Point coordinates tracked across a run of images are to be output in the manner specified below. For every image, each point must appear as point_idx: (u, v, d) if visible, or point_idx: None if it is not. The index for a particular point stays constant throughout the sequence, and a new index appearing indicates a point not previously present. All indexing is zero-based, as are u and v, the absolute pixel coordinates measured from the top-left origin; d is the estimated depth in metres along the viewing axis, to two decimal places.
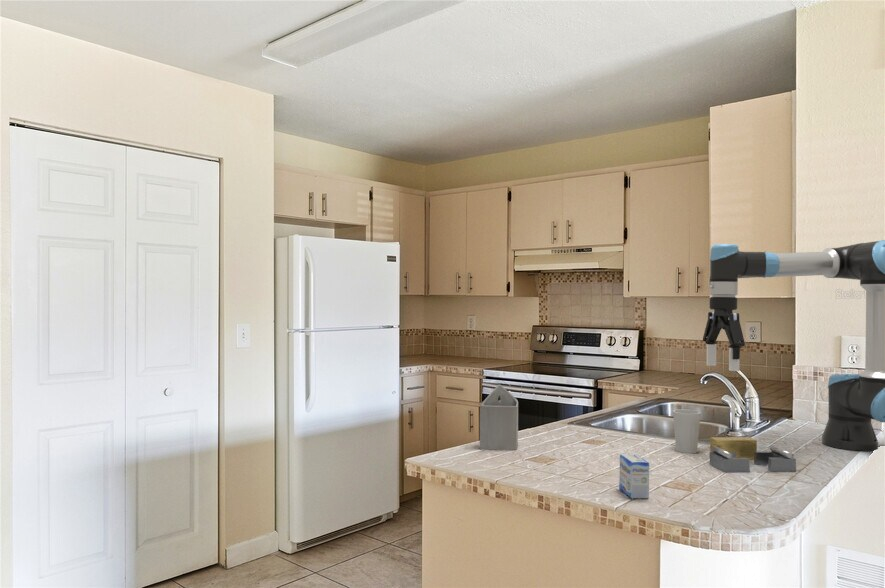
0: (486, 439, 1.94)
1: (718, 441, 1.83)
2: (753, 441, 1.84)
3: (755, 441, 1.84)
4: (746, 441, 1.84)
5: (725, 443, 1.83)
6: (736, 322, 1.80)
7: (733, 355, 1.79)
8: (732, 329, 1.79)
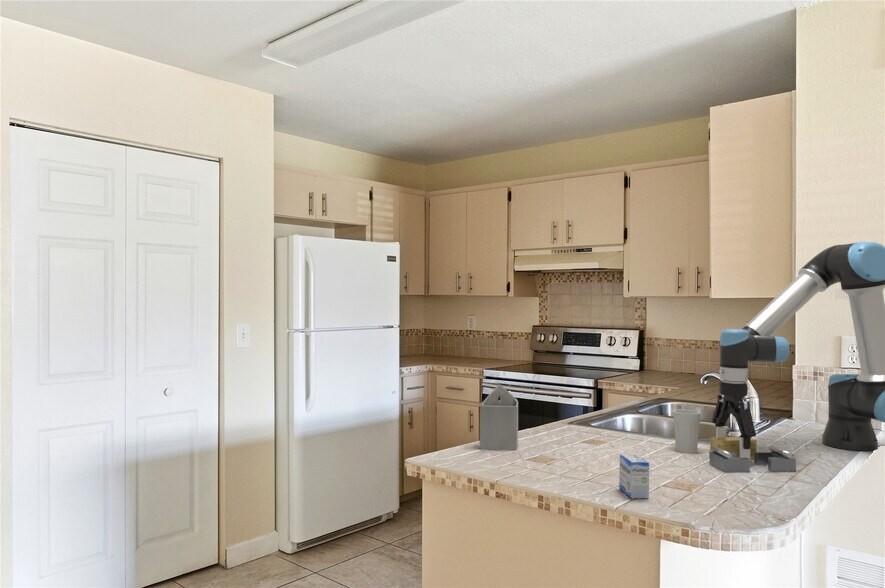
0: (486, 439, 1.94)
1: (719, 441, 1.83)
2: (753, 441, 1.84)
3: (755, 441, 1.84)
4: None
5: (726, 443, 1.83)
6: (747, 411, 1.78)
7: (744, 445, 1.78)
8: (743, 418, 1.78)
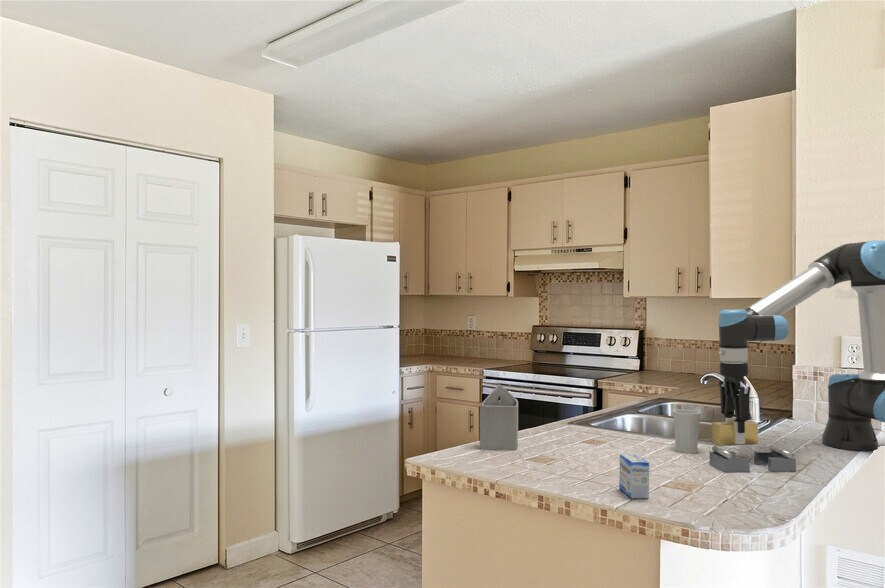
0: (486, 439, 1.94)
1: (720, 426, 1.83)
2: (754, 425, 1.84)
3: (756, 425, 1.84)
4: (748, 425, 1.84)
5: (727, 428, 1.83)
6: (746, 396, 1.80)
7: (738, 429, 1.82)
8: (740, 403, 1.80)
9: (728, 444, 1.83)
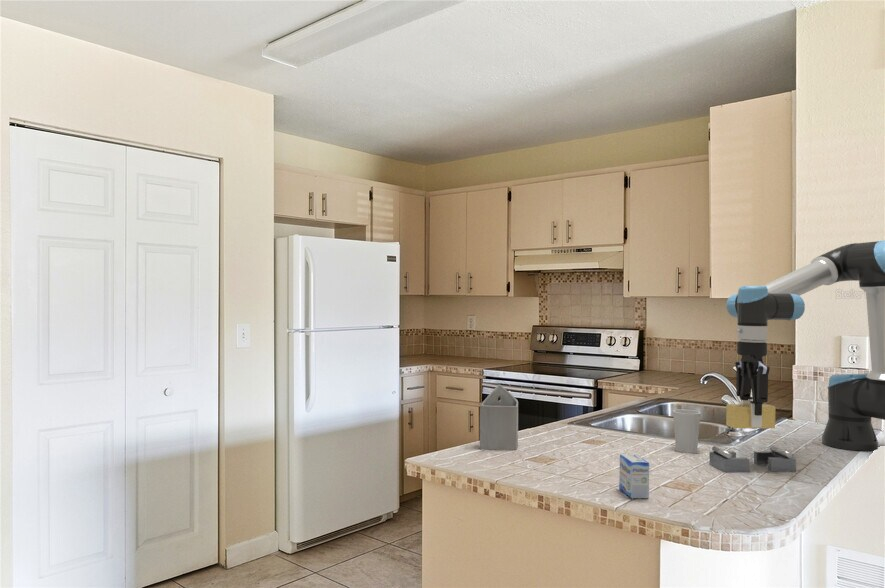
0: (486, 439, 1.94)
1: (736, 407, 1.73)
2: (772, 408, 1.74)
3: (774, 408, 1.74)
4: (765, 408, 1.74)
5: (743, 410, 1.73)
6: (764, 376, 1.70)
7: (755, 411, 1.72)
8: (758, 383, 1.70)
9: (743, 427, 1.73)
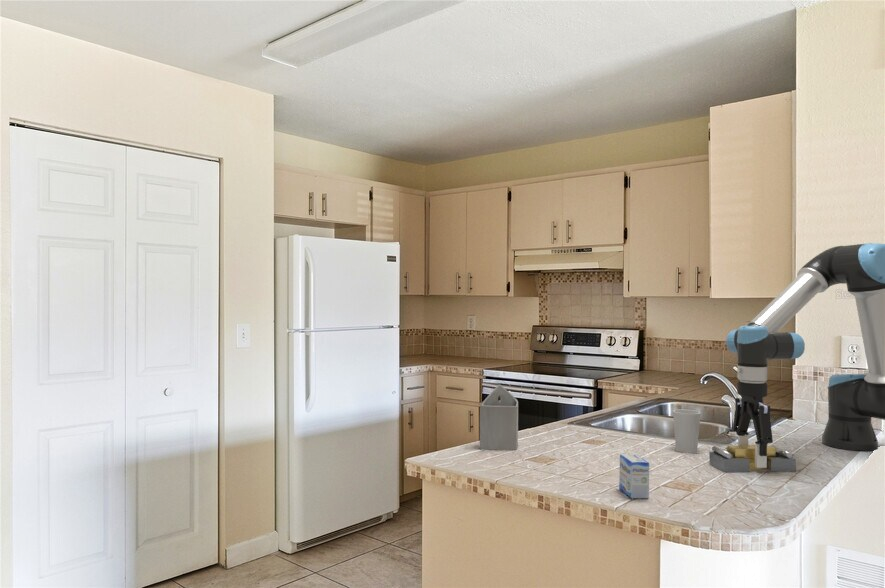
0: (486, 439, 1.94)
1: (736, 450, 1.73)
2: (772, 449, 1.74)
3: (774, 449, 1.74)
4: None
5: (744, 452, 1.73)
6: (766, 416, 1.69)
7: (760, 451, 1.70)
8: (761, 423, 1.69)
9: None
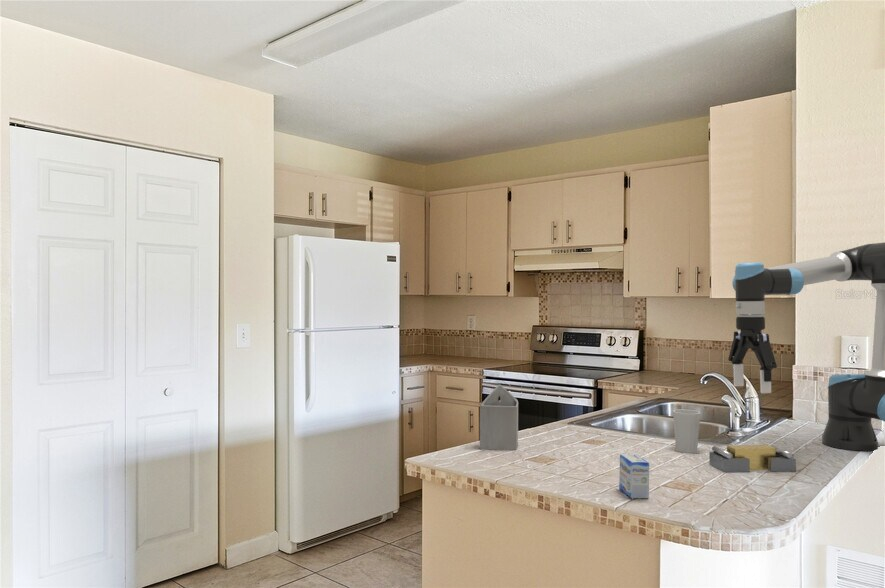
0: (486, 439, 1.94)
1: (736, 450, 1.73)
2: (772, 449, 1.74)
3: (774, 449, 1.74)
4: (765, 449, 1.74)
5: (743, 452, 1.73)
6: (766, 343, 1.75)
7: (764, 377, 1.75)
8: (763, 351, 1.75)
9: None
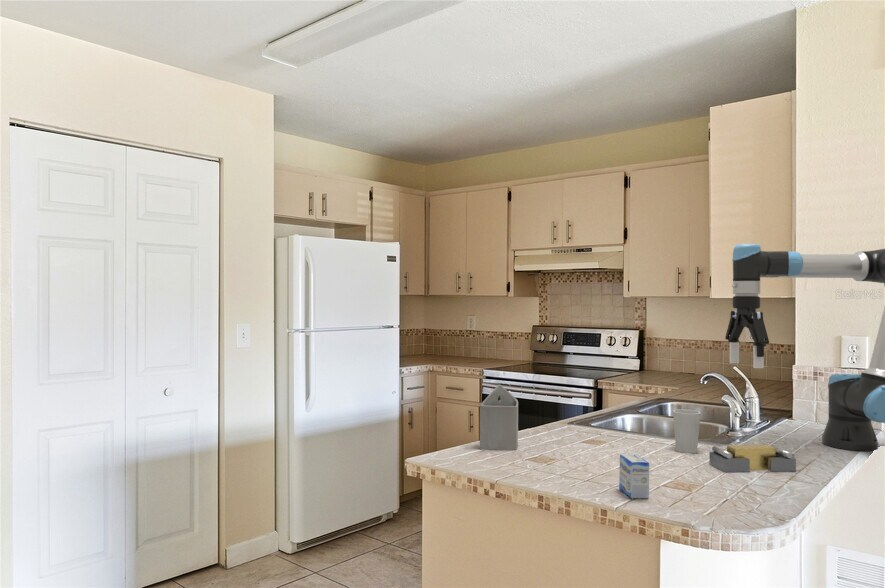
0: (486, 439, 1.94)
1: (736, 450, 1.73)
2: (772, 449, 1.74)
3: (774, 449, 1.74)
4: (765, 449, 1.74)
5: (743, 452, 1.73)
6: (760, 320, 1.84)
7: (757, 353, 1.83)
8: (756, 327, 1.83)
9: None
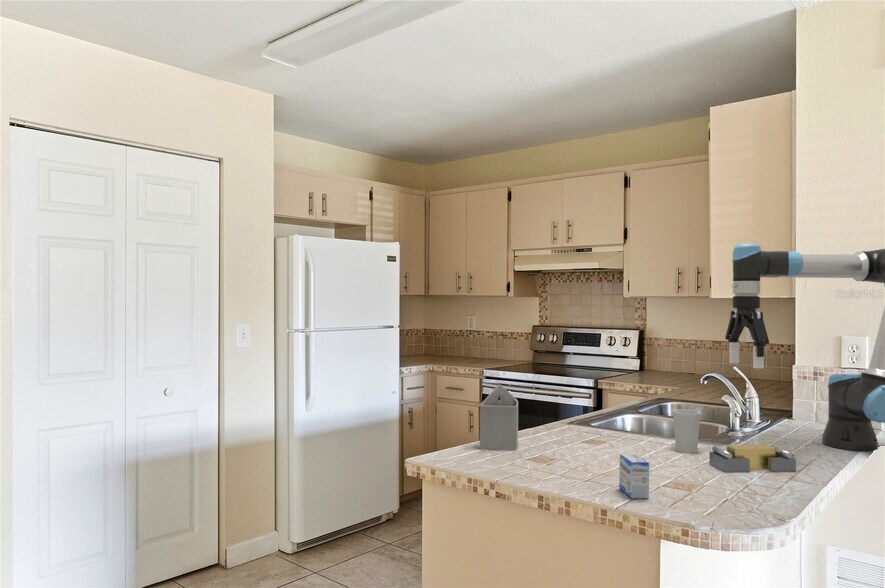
0: (486, 439, 1.94)
1: (736, 450, 1.73)
2: (772, 449, 1.74)
3: (774, 449, 1.74)
4: (765, 449, 1.74)
5: (743, 452, 1.73)
6: (760, 320, 1.84)
7: (757, 353, 1.83)
8: (756, 327, 1.83)
9: None
